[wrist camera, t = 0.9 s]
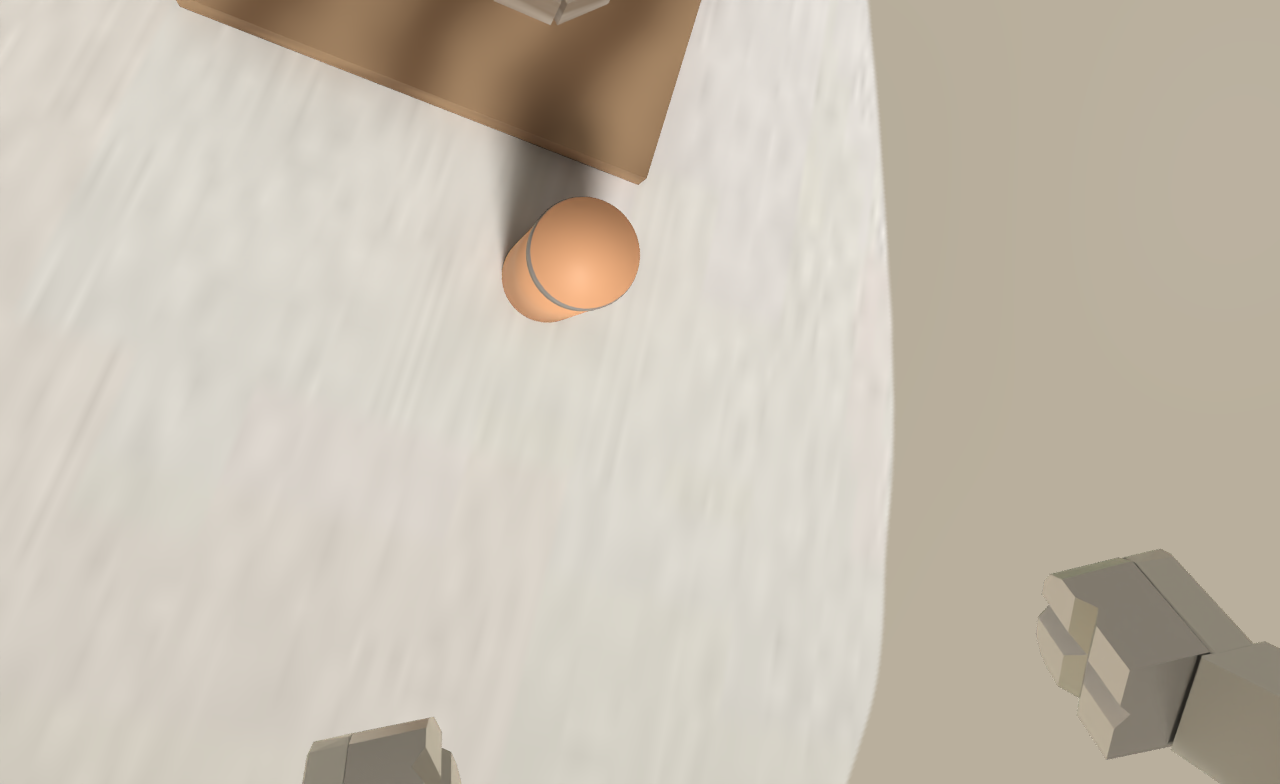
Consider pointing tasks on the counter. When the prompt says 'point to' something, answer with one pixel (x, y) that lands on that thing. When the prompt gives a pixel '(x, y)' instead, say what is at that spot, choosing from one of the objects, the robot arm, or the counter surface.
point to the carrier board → (503, 62)
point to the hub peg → (571, 261)
